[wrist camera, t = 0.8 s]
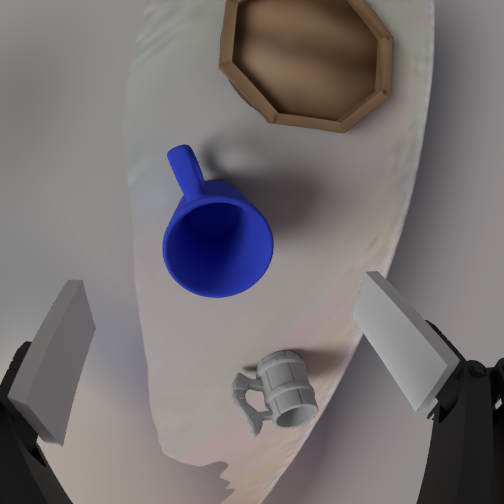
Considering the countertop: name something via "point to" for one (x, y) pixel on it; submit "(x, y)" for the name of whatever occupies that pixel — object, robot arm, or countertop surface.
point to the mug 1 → (214, 234)
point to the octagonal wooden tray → (307, 60)
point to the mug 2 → (277, 393)
